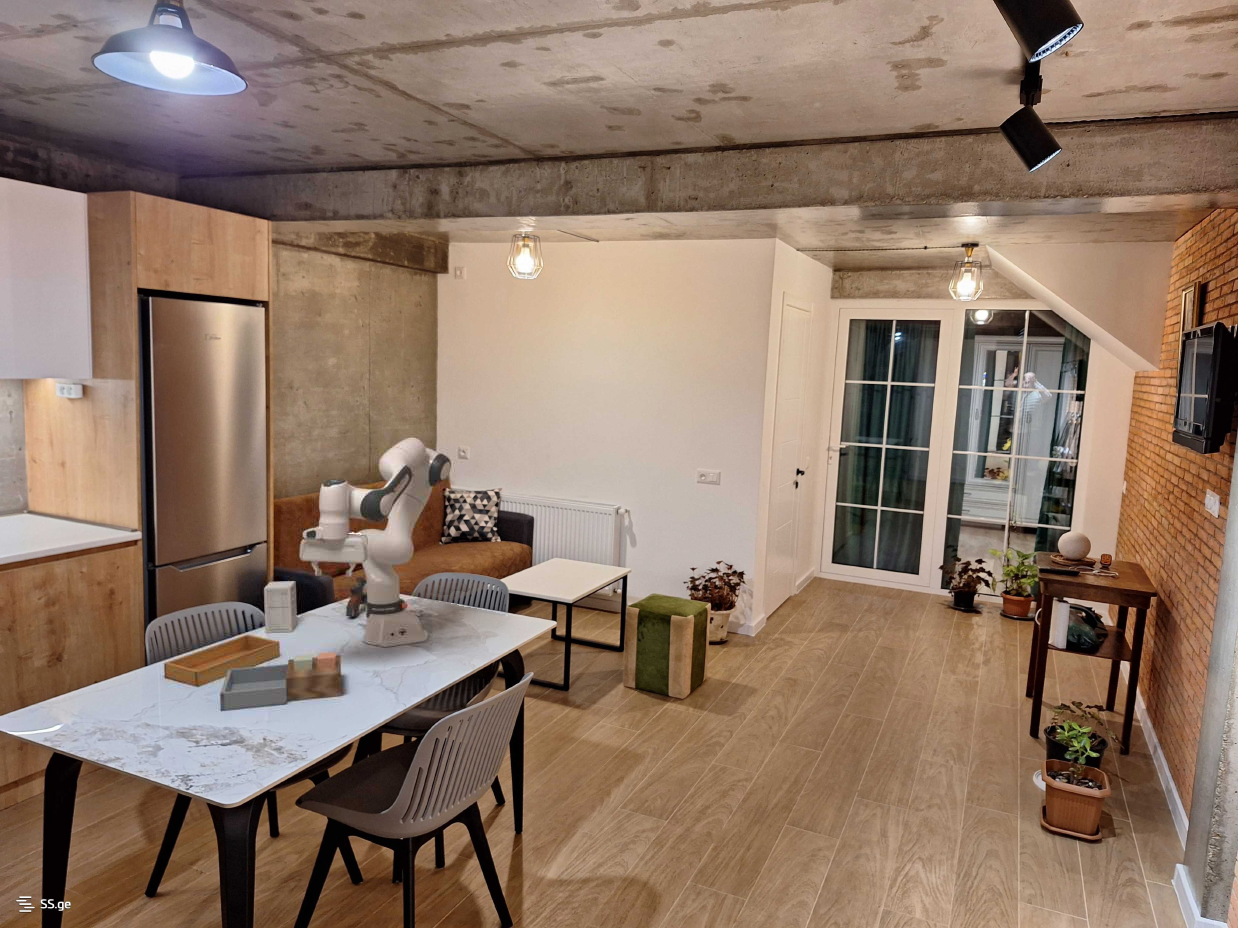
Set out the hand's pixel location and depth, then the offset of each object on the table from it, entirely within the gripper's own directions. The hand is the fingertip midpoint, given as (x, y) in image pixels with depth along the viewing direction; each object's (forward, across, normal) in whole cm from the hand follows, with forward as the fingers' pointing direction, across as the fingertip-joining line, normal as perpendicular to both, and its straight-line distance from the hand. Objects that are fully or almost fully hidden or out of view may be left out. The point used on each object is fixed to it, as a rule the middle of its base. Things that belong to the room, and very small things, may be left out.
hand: (333, 575), depth 258 cm
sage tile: (+25, +5, +12) cm, 28 cm away
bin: (+32, +17, +16) cm, 40 cm away
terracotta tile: (+25, -2, +10) cm, 27 cm away
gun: (+30, +12, -72) cm, 79 cm away
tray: (+33, +36, -5) cm, 49 cm away
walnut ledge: (+32, +2, +11) cm, 34 cm away
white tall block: (+31, +34, -45) cm, 65 cm away
